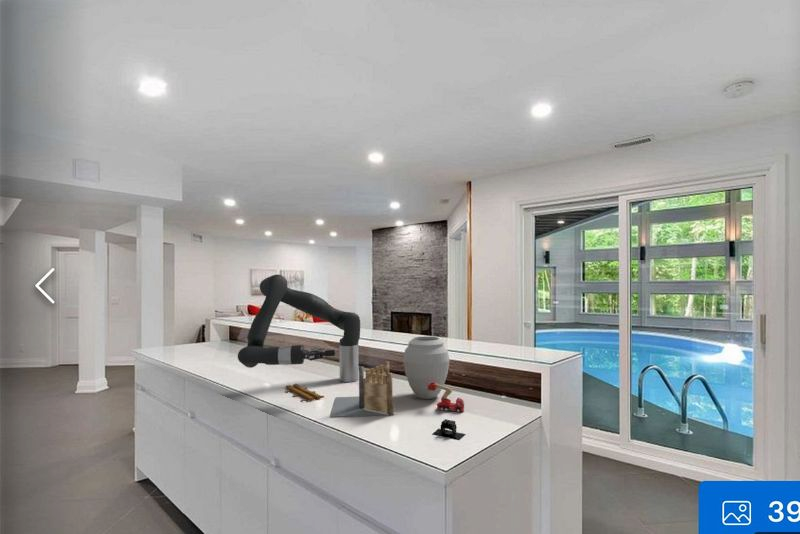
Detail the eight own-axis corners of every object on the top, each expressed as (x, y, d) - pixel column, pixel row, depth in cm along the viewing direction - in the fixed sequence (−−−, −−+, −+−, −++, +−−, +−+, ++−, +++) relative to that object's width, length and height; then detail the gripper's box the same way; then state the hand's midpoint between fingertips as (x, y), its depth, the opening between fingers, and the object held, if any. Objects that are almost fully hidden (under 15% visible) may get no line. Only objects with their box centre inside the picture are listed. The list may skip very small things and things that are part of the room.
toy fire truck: (463, 413, 145) (463, 386, 146) (427, 409, 150) (427, 383, 150) (465, 410, 148) (464, 384, 149) (429, 406, 153) (429, 381, 153)
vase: (459, 395, 166) (458, 338, 167) (430, 407, 152) (429, 343, 153) (423, 387, 179) (422, 333, 180) (393, 397, 165) (393, 338, 166)
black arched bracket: (426, 436, 126) (425, 421, 126) (436, 428, 132) (435, 414, 132) (462, 444, 119) (462, 428, 120) (471, 435, 126) (470, 420, 126)
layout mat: (335, 398, 165) (335, 396, 165) (390, 396, 166) (390, 395, 167) (330, 418, 141) (330, 416, 141) (394, 415, 143) (394, 414, 143)
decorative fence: (304, 404, 159) (326, 399, 165) (304, 399, 159) (326, 394, 165) (280, 390, 179) (301, 386, 185) (280, 386, 179) (301, 382, 185)
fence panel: (366, 406, 152) (366, 368, 152) (362, 405, 153) (362, 368, 153) (390, 396, 165) (390, 361, 165) (386, 395, 166) (386, 361, 166)
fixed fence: (358, 409, 150) (357, 367, 151) (361, 407, 152) (360, 366, 152) (390, 416, 143) (390, 371, 143) (393, 414, 144) (393, 370, 145)
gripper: (287, 348, 151) (333, 346, 153) (294, 342, 165) (336, 340, 166) (288, 368, 151) (333, 366, 153) (294, 360, 165) (336, 358, 166)
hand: (334, 352), depth 159 cm, fingers closed
